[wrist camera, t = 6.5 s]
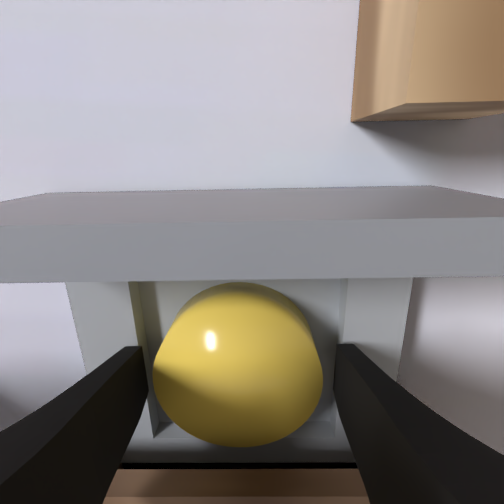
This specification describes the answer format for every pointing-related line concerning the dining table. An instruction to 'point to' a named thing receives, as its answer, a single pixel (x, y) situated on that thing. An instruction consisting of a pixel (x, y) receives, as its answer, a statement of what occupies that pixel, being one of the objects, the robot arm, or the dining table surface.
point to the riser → (428, 60)
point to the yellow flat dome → (238, 366)
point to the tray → (248, 277)
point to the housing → (236, 486)
